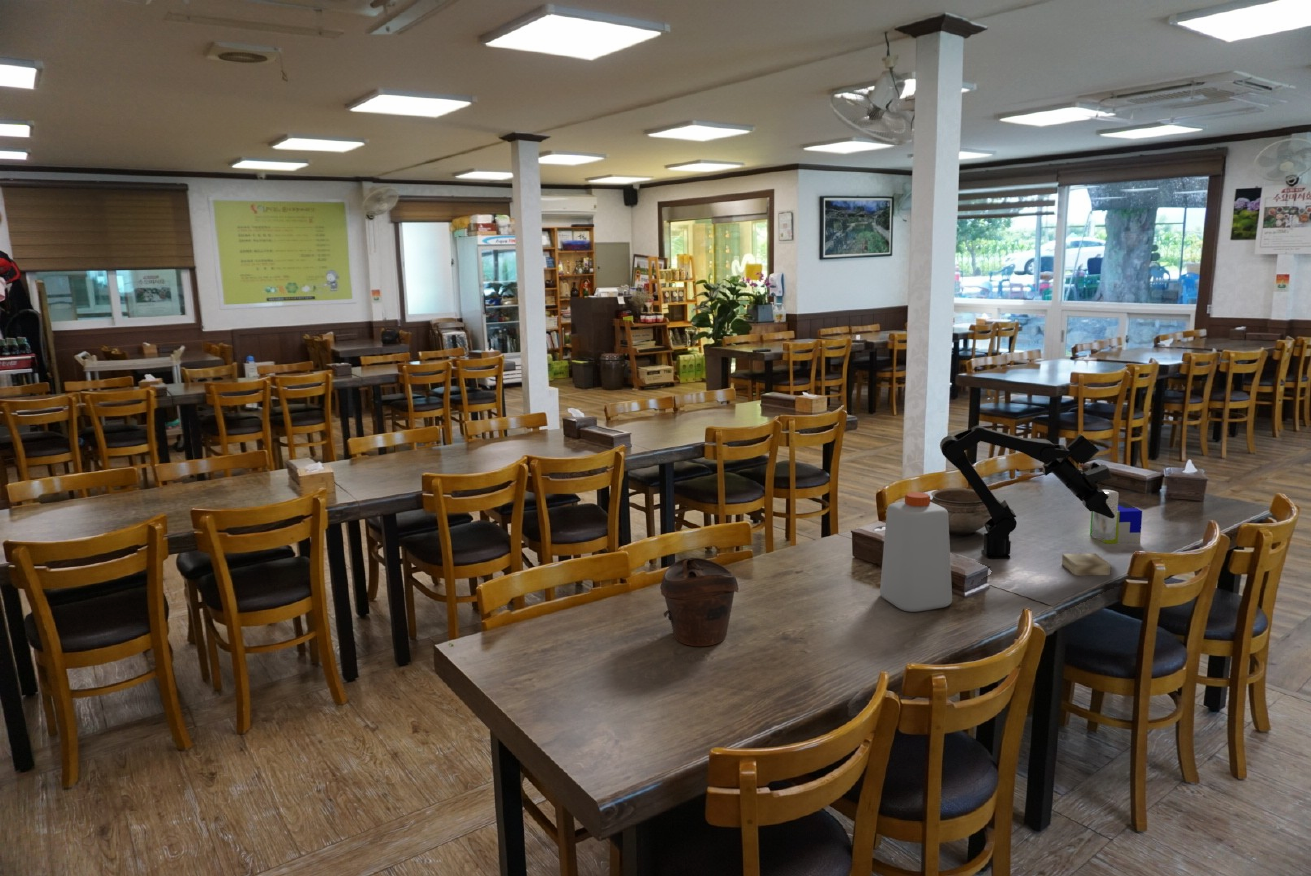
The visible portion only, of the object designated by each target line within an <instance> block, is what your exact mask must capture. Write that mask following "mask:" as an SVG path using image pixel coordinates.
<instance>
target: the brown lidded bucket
mask: <svg viewBox="0 0 1311 876" xmlns="http://www.w3.org/2000/svg"><path fill="white" fill-rule="evenodd" d="M659 587H660V593H661V596H663V597H664V599H665V600H664V601H665V604H666V607H667V610H666V611H664V613H663V616H664V617H665V618H667V619H668V620H669V621H670V625H671V628H672V632H673V633H672V634H673V636H674V639H676V641H677V642H680V643H682V644H683V645H687V646H691V647H707V646H713V645H717V644H719V643H721V642H722V641H724V640H725V639H726V637H727V635H728V628H729V623H730V617H731V612H732V608H733V603H734V602H733V601H734V596H735V592H736V593H739V585H738V582H737V577H736V575H734V574H733V572H732V571H729V570H728V569H727V568H726V567H725V566H723V565H721V564H719V563H717V562H716V561H712V560H710V559H707V558H703V557H702V558H701V557H693V556H692V557H688V558H682V559H680V560H678V561H675V562H674V563H672V564H671V565H669V567H668V568H667V569H666V571H665V572H664V574H663V576H662V579H661V583H660V586H659Z"/></svg>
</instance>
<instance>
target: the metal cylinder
mask: <svg viewBox="0 0 1311 876" xmlns="http://www.w3.org/2000/svg"><path fill="white" fill-rule="evenodd" d="M1101 490H1102V491H1104V492H1105V493H1106V494H1107V495H1108V496H1109V497H1108V499H1107V500H1106V503H1107V505H1108V506H1109V508H1110V509H1111V511H1112V512H1113V514H1114V515H1115V517H1114V518H1113V519H1111V518H1109V517H1106V516H1104V515H1101V514H1099V513H1096V512H1094V511H1093V521H1092V535H1091V537H1092V538H1094V539H1097V540H1099V539H1101V540H1113V539H1115V537H1116V523H1117V510H1118V502H1119V492H1118V491H1115V490H1112V489H1101ZM1101 540H1100V541H1101Z"/></svg>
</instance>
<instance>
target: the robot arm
mask: <svg viewBox="0 0 1311 876" xmlns="http://www.w3.org/2000/svg"><path fill="white" fill-rule="evenodd" d="M980 442H983V443H987V444H989V445H994V446H997V447H999V448H1005V449H1008V450H1013V451H1015V452H1020V453H1022V454H1025V456H1026V455H1027V456H1029V457H1030V458H1032V459H1034V460H1036V461H1038V462H1040V463H1043V464H1042V473H1043V475H1044V476H1048V475H1050V473H1052V474H1053V475H1054V476H1055V477H1056V478H1057V479H1058V480H1059V481H1060V482H1061V484H1063V485H1064V486H1065V487H1066V488H1067V489H1068V490H1070V492H1071V493H1072V494H1073V495H1074V496H1075V497H1076V498H1078V499H1079V501H1081V502H1082V505H1083V506H1084V507H1085V508H1086V509H1087V510H1088V511H1089V512H1090V513H1091V512H1092V511H1094V512H1096V513H1099V514H1101V515H1104V516H1106V517H1109V518H1111V519H1113V518H1114V517H1115V515H1114V514H1113V512H1112V511H1111V509H1110V508H1109V506H1108V505H1107V503H1106V500H1107V499H1108V497H1109V496H1108V495H1107V494H1106V493H1105V492H1104V491H1102V490H1103V489H1102V488H1099V485H1098V483H1101V482H1105V481H1106V480H1111V479H1112V478H1113V475H1112V473H1111V471H1110V469H1109V467H1108V466H1107V465H1106V464H1103V463H1102V464H1100V465H1099V464H1098V463H1097V462H1096V461H1094V462H1093V461H1092V462H1091V463H1090V464H1089V468H1088V469H1087V470H1086V471H1083V470H1082V469H1080V468H1078V467H1077V466H1076V465H1075V464H1074V463H1073V462H1072V461H1071V460H1073V461H1074V462H1075V463H1076V464H1077V465H1079V464H1080V465H1082V464H1083V465H1085V464H1087V462H1089V461H1090V460H1091V459H1092V458H1093V457H1095V456H1096V455H1097V454H1099V452H1100V451H1101V450H1100V449H1099V448H1098V447H1097V446H1095V444H1094V443H1092V442H1091V441H1090V440H1089V439H1088V438H1086V437H1085V436H1084V435H1083V434H1082V433H1079V434H1078V435H1077V436H1076V437H1075V438H1074V439H1073V440H1072V441H1071V442H1070V443H1068V444H1067V445H1064V444H1059V443H1058V444H1056V443H1052V442H1051V441H1050V440H1048V439H1045V438H1036V437H1035V438H1032V437H1031V438H1028V437H1020V436H1017V435H1013V434H1009V433H1006V432H1001V431H999V430H994V429H991V428H986V427H984V426H982V425H974V426H972V427H971V428H969V429H967V430H964V431H961V432H959V433H956V434H954V435H947V436H945V437H943V438H942V439H941V441H940V443H939V448H940V451H941V453H942V455H943V457H944V458H945V459H946V460H948V461H949V462H950V463H951V464H952V465H953V466H954V468H957V470H958V471H960V473H961V474H962V476H963V477H964V479H966V481H967V483H968V484H969V486H970V487H971V489H973V490H974V491H975V492H976V494H977V495H978V496H979V498H980V499H981V500H982V502H983V503H984V505H985V506H986V507H987V509H988V511H989V514H990V516H991V519H990V520H988V521H987V522H986V523H985V524H984V525H985V526H984V528H985V531H986V532H984V533H983V548H982V549H981V550H980V552H981V553H982V554H983V555H984V556H985V557H986V558H987V559H1010V558H1011V555H1010V554H1011V545H1012V541H1011V540H1010V536H1009V535H1010V534H1011V533H1012V532H1013V531H1015V529H1016V528H1017V520H1016V518H1017V515H1016V513H1015V512H1014V510H1013V509H1012V508H1010V506H1009V504H1008V503H1007V501H1006V499H1004V500H1003V501H1000V499H998V498H996V496H995V495H994V494H993V492H992V491H991V489H990V488H989V486H988V485H987V484H986V482H985V481H984V479H983V478H982V477H981V476H980V474H979V472H978V471H977V470H976V468H975V467H974V466H973V464H972V463H971V462H970V459H969V458H968V456H967V453H966V452H965V451H967V450H969V449H971V448H972V447H973V446H975V445H976V444H978V443H980ZM1069 458H1071V460H1070V459H1069Z"/></svg>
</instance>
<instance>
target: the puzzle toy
mask: <svg viewBox="0 0 1311 876" xmlns="http://www.w3.org/2000/svg"><path fill="white" fill-rule="evenodd" d="M1090 513H1091V514H1090V515H1091V516H1090V528H1089V529H1090V531H1089V534H1090V535H1091V536H1092V521H1093V511H1091V512H1090ZM1142 523H1143V510H1142V509H1140V508H1137V507H1135V506H1133V505H1131V504H1129V503H1128V502H1125V501H1121V502H1119V501H1118V510H1117V523H1116V537H1115V539H1113V540H1101V539H1098V540H1099V541H1101V542H1102V543H1105V544H1106V545H1112V544H1113V545H1117V544H1118V545H1120V544H1140V543H1141V535H1142V534H1141V532H1142Z"/></svg>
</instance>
